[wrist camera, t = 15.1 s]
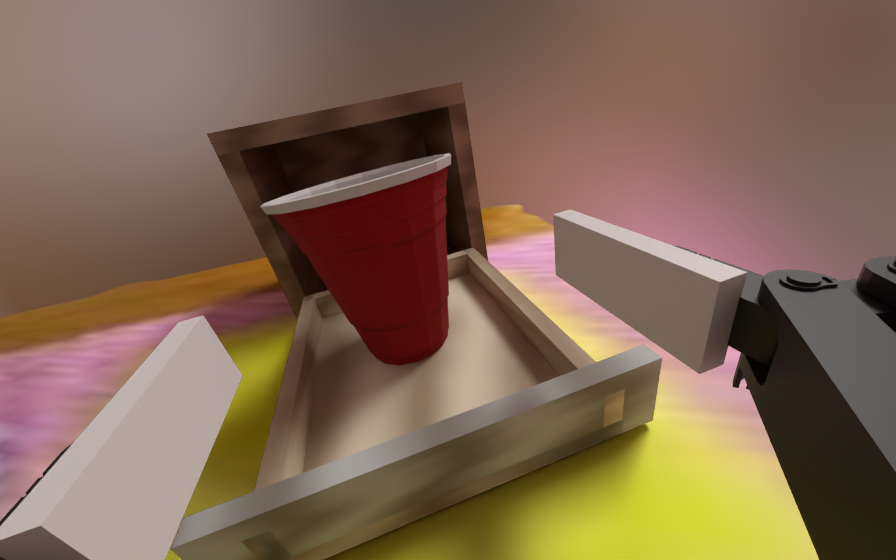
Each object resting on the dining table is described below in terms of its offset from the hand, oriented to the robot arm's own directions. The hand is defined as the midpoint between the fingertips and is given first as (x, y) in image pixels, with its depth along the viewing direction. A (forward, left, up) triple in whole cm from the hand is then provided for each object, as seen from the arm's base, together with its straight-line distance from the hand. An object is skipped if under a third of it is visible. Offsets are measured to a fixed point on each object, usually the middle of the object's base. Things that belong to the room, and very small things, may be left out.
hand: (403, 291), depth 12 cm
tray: (0, +7, -9) cm, 12 cm away
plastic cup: (0, +9, -8) cm, 12 cm away
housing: (0, +26, -10) cm, 27 cm away
